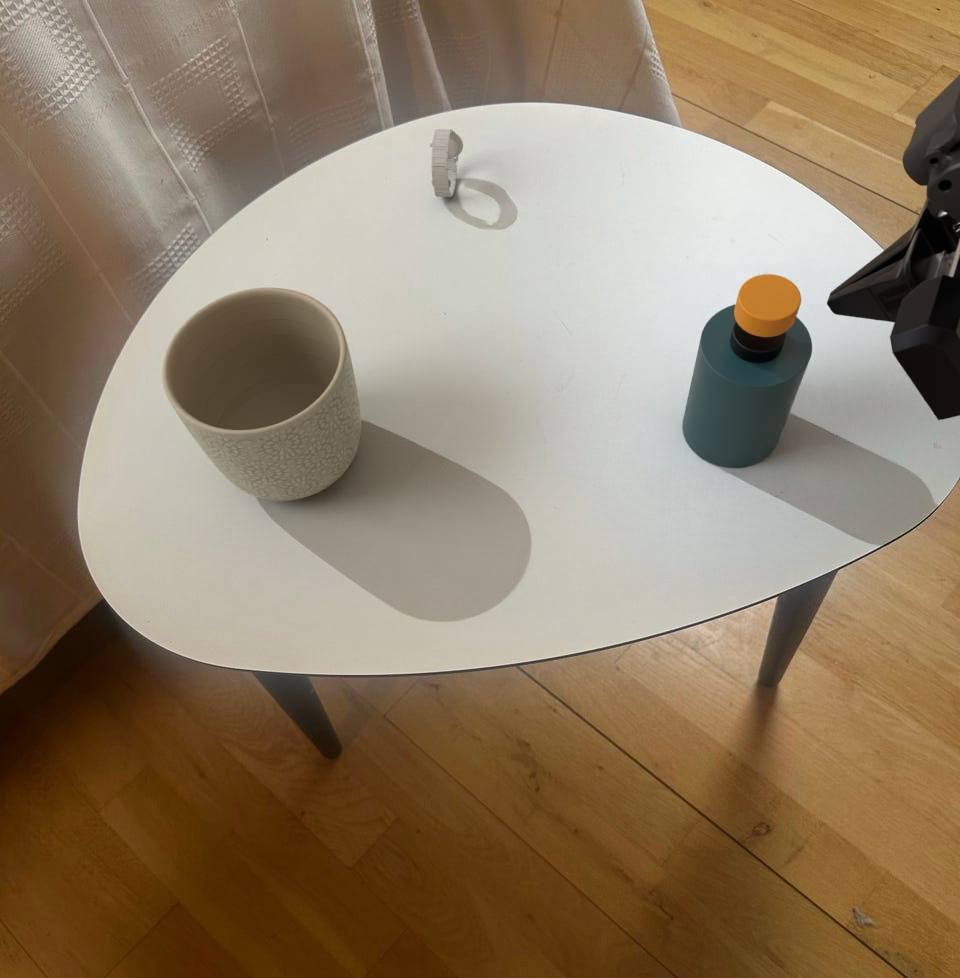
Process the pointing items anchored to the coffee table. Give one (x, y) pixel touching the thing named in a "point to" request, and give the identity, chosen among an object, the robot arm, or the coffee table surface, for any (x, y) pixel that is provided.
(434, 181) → the wristwatch
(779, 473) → the coffee table surface
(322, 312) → the planter
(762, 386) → the bottle
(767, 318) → the orange short cylinder
